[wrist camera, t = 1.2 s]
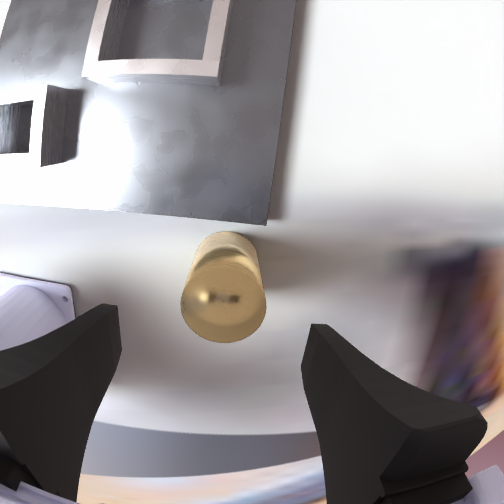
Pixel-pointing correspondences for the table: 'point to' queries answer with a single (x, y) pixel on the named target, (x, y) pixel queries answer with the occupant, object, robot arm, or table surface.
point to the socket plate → (144, 105)
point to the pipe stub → (224, 289)
